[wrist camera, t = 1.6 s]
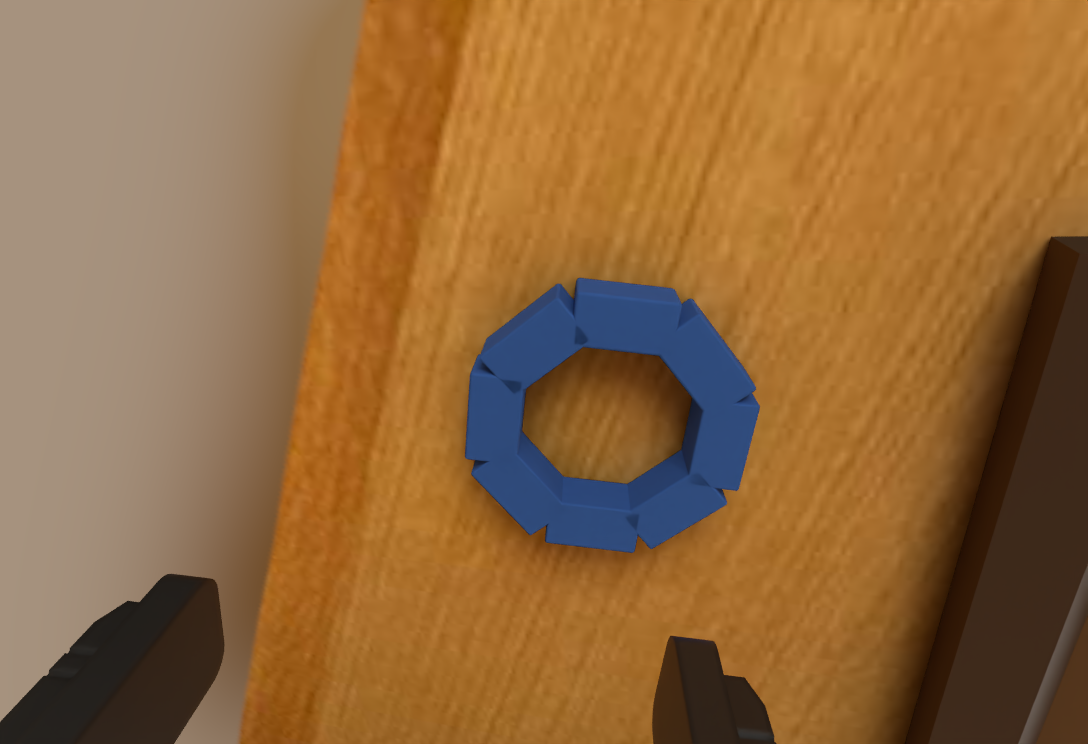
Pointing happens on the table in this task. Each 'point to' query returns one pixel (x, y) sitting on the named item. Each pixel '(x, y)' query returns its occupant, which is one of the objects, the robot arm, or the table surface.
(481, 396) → the ring
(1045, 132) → the table surface
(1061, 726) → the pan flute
